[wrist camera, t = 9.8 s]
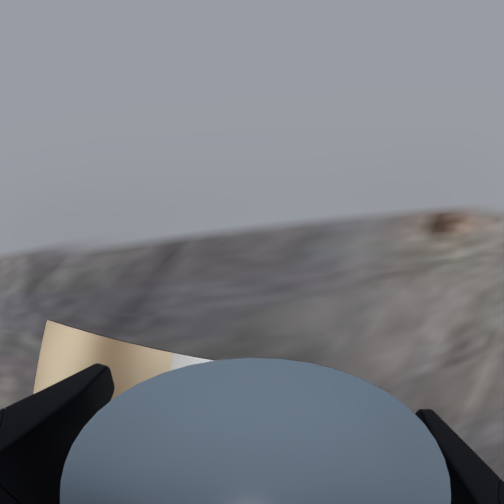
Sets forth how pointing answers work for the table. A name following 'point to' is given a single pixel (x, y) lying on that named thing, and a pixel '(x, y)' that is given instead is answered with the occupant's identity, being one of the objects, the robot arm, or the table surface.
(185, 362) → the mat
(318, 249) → the table surface
